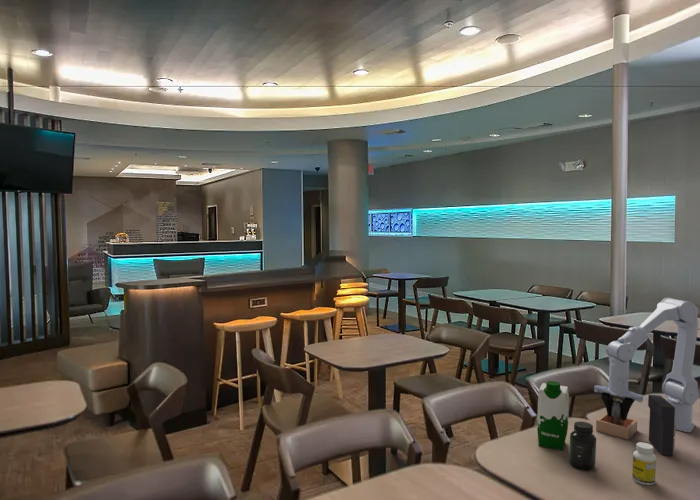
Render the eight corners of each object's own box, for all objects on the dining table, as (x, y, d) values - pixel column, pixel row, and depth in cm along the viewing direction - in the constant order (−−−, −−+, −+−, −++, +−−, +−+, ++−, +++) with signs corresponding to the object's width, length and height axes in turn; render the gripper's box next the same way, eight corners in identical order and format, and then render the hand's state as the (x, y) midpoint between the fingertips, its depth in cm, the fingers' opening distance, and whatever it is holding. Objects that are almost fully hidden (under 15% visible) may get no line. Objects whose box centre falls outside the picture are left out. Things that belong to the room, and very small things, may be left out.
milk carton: (535, 446, 158) (537, 383, 157) (539, 435, 166) (541, 375, 165) (565, 452, 154) (567, 387, 153) (568, 441, 162) (570, 379, 161)
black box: (675, 456, 152) (678, 407, 151) (659, 455, 153) (662, 406, 152) (661, 441, 163) (663, 395, 162) (646, 440, 164) (648, 394, 163)
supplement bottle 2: (627, 476, 140) (629, 441, 140) (646, 475, 141) (647, 440, 140) (640, 486, 135) (642, 450, 134) (659, 485, 135) (661, 449, 135)
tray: (605, 422, 178) (606, 412, 178) (637, 430, 171) (637, 420, 171) (596, 430, 171) (596, 420, 171) (628, 439, 164) (628, 428, 164)
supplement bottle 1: (564, 464, 147) (565, 423, 146) (576, 457, 151) (578, 418, 150) (587, 473, 141) (589, 431, 141) (599, 466, 145) (601, 425, 145)
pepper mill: (612, 421, 174) (613, 396, 173) (625, 424, 171) (626, 399, 171) (608, 424, 171) (609, 399, 170) (621, 428, 168) (622, 402, 168)
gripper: (591, 375, 172) (590, 414, 173) (639, 385, 162) (637, 427, 163) (598, 371, 177) (597, 409, 178) (645, 380, 167) (643, 421, 168)
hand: (617, 417), depth 171 cm, fingers closed on pepper mill, 4 cm apart
